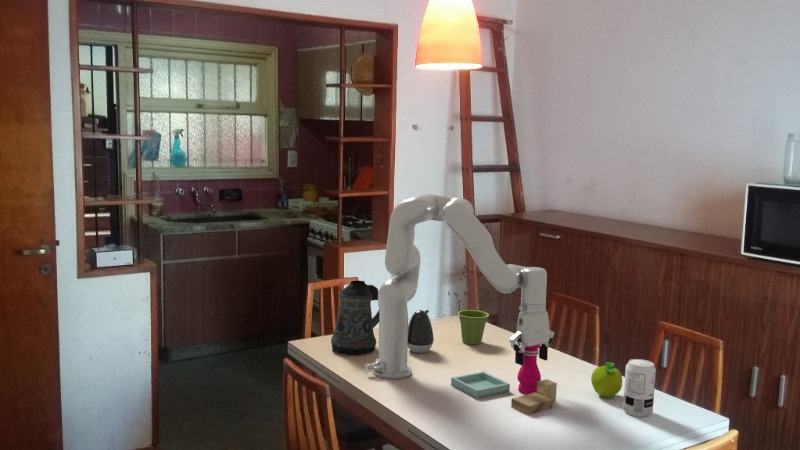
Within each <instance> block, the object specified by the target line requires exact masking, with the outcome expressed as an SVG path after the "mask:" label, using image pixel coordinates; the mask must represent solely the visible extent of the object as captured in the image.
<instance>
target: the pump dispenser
mask: <svg viewBox="0 0 800 450" xmlns="http://www.w3.org/2000/svg"><path fill="white" fill-rule="evenodd" d="M429 312H430V311H429V310H428V309H426V310H423V309H419V310H416V311H415V312H413V314H412V316H411V318H410V320H409V321H408V350H409V351H411V352H412V353H415V354H423V353H424V354H425V353H427V352H429V351H430V350H431V349H432V346H433V344H434V339H435V338H434V331H433V326H432V323H431V318H430V317H429V314H428V313H429Z"/></svg>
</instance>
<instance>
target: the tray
mask: <svg viewBox="0 0 800 450" xmlns="http://www.w3.org/2000/svg"><path fill="white" fill-rule="evenodd" d="M450 380H451V381H450V385H451V386H452V387H453V388H455V389H457V390H459V391H461V392H463V393H465V394H466V395H469V396H470V397H472V398H474V399H476V400H477V399H482V398H486V397H491V396H495V395H500V394H504V393H509V392H510V391H511V390H510V388H511V384H510V383H509V382H507V381H504V380H502V379H500V378H498V377H496V376H494V375H492V374H490V373H488V372H487V371H479V372H474V373H473V372H472V373H469V374H464V375H458V376H453V377H450Z"/></svg>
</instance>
